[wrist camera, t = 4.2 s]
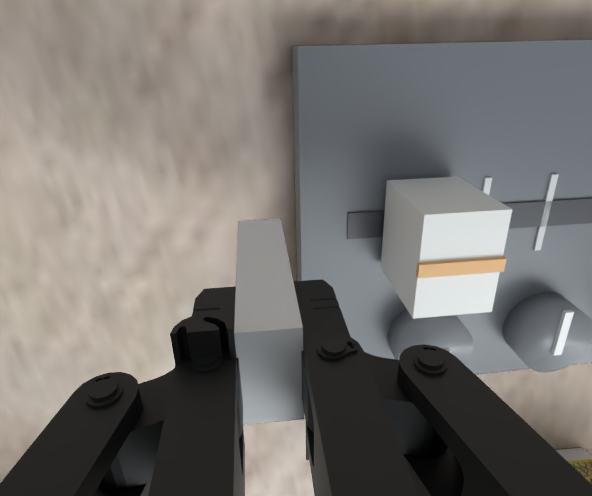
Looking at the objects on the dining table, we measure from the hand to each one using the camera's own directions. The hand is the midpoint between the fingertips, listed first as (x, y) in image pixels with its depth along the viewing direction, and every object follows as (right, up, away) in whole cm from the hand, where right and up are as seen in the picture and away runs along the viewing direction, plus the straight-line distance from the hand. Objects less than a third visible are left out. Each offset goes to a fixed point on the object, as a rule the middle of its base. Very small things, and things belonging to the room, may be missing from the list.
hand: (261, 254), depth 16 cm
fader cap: (+6, +1, +3) cm, 7 cm away
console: (+13, +2, +6) cm, 15 cm away
